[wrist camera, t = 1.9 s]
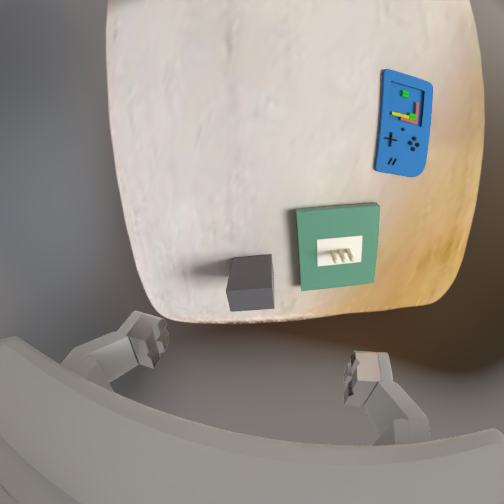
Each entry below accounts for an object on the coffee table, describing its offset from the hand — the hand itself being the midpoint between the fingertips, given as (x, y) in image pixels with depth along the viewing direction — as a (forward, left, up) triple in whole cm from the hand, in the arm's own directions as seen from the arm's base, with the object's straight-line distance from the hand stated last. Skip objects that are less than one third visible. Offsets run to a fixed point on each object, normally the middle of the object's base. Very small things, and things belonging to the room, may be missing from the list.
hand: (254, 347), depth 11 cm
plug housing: (+13, -3, -29) cm, 32 cm away
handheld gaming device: (-7, +21, -29) cm, 36 cm away
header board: (+11, +10, -29) cm, 32 cm away
